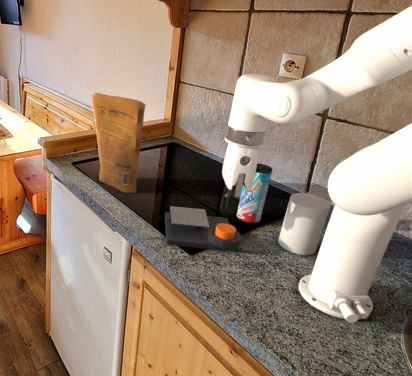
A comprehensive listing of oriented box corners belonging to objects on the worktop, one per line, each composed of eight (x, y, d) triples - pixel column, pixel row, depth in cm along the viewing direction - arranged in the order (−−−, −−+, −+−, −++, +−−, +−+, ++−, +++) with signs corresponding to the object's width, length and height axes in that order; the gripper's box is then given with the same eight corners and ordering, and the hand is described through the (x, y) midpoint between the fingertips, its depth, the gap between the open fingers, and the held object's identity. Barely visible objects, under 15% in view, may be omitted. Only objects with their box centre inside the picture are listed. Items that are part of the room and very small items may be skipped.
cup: (307, 237, 100) (320, 194, 95) (321, 256, 93) (337, 210, 88) (273, 235, 101) (285, 191, 96) (285, 253, 94) (298, 207, 89)
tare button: (236, 241, 93) (237, 233, 92) (216, 239, 94) (217, 231, 93) (232, 231, 97) (234, 224, 96) (213, 229, 98) (215, 222, 97)
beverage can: (233, 213, 111) (244, 162, 105) (255, 214, 111) (268, 163, 104) (239, 224, 106) (251, 171, 99) (262, 225, 105) (276, 172, 99)
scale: (241, 255, 93) (244, 244, 91) (166, 247, 95) (168, 236, 94) (230, 223, 106) (232, 212, 105) (164, 216, 108) (165, 206, 107)
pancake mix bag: (129, 199, 117) (137, 103, 106) (86, 177, 131) (89, 90, 119) (144, 193, 121) (154, 100, 110) (101, 172, 135) (106, 88, 123)
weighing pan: (209, 228, 98) (209, 226, 97) (171, 224, 99) (171, 222, 99) (204, 210, 106) (205, 209, 105) (169, 207, 107) (169, 206, 107)
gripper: (273, 149, 78) (251, 230, 86) (255, 126, 91) (237, 198, 99) (232, 145, 79) (215, 226, 87) (220, 123, 92) (206, 195, 100)
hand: (227, 211), depth 93 cm, fingers closed
